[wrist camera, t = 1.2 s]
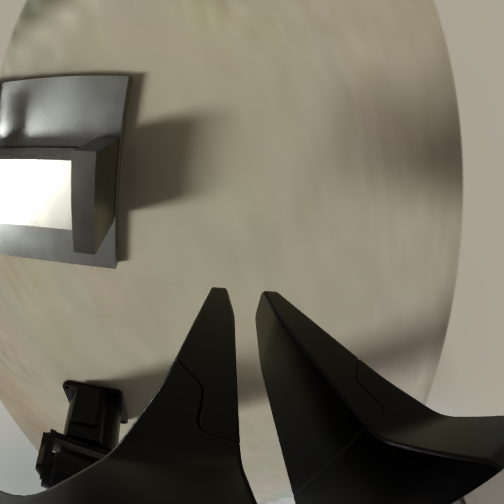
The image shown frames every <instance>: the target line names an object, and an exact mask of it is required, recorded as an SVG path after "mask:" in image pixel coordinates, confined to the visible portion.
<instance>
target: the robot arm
mask: <svg viewBox="0 0 504 504" xmlns="http://www.w3.org/2000/svg"><path fill="white" fill-rule="evenodd" d="M256 330H257V339H258V348H259V357H260V365H261V370H262V374H263V378H264V382H265V386H266V390H267V395H268V399H269V403H270V407H271V411H272V415H273V419H274V422H275V426H276V430H277V434H278V438H279V442H280V446H281V450H282V454H283V458H284V461H285V465H286V469H287V473H288V477H289V480H290V484H291V488H292V492H293V495H294V500H295V504H504V416H489V417H488V416H486V417H452V416H446V415H442V414H440V413H437V412H435V411H433V410H431V409H430V408H428V407H426V406H425V405H423V404H422V403H420V402H419V401H417V400H416V399H414V398H413V397H411V396H410V395H408V394H407V393H405V392H404V391H402V390H401V389H399V388H398V387H396V386H395V385H393V384H392V383H390V382H389V381H387V380H386V379H384V378H383V377H382V376H380V375H379V374H378V373H376V372H375V371H374V370H373V369H371V368H370V367H369V366H367V365H366V364H365V363H364V362H362V361H361V360H358V358H357V357H356V356H355V355H354V354H352V353H351V352H350V351H349V350H347V349H346V348H345V347H344V346H342V345H341V344H340V343H339V342H338V341H336V340H335V339H334V338H333V337H331V336H330V335H329V334H328V333H326V332H325V331H324V330H323V329H322V328H320V327H319V326H318V325H317V324H315V323H314V322H313V321H312V320H311V319H309V318H308V317H307V316H306V315H304V314H303V313H302V312H301V311H300V310H298V309H297V308H296V307H295V306H293V305H292V304H291V303H290V302H289V301H287V300H286V299H285V298H284V297H283V296H281V295H280V294H279V293H277V292H272V291H264V292H263V293H262V294H261V297H260V301H259V305H258V308H257V312H256ZM63 389H64V391H65V393H66V396H67V398H68V400H69V403H70V405H69V410H68V414H67V419H66V423H65V428H64V433H63V434H61V433H58V432H56V430H53V429H51V432H50V433H49V432H48V433H45V432H43V437H42V441H41V446H40V450H39V454H38V458H37V463H36V471H37V472H38V474H39V475H40V479H41V480H42V482H41V486H42V487H44V488H47V490H45V491H43V492H40V493H37V494H33V495H26V496H22V495H12V494H8V493H5V492H3V491H0V504H257V502H256V500H255V497H254V495H253V492H252V490H251V487H250V485H249V482H248V480H247V477H246V475H245V472H244V469H243V466H242V461H241V453H240V445H239V443H240V437H239V417H238V396H237V373H236V347H235V319H234V312H233V309H232V305H231V302H230V298H229V295H228V291H227V289H225V288H217V287H213V288H212V289H211V290H210V292H209V294H208V296H207V298H206V300H205V302H204V304H203V306H202V308H201V310H200V312H199V313H198V315H197V317H196V319H195V321H194V323H193V325H192V327H191V329H190V331H189V333H188V335H187V337H186V339H185V341H184V343H183V345H182V347H181V349H180V351H179V352H178V354H177V356H176V358H175V361H174V362H173V364H172V366H171V368H170V370H169V372H168V374H167V375H166V377H165V379H164V381H163V382H162V384H161V386H160V387H159V389H158V390H157V392H156V393H155V395H154V396H153V398H152V399H151V401H150V402H149V404H148V405H147V406H146V408H145V409H144V410H143V412H142V413H141V414H140V416H139V417H138V418H137V420H136V421H135V422H134V424H133V425H132V426H131V428H130V429H129V430H128V432H127V433H126V434H125V436H124V437H123V438H122V440H121V441H120V442H119V431H120V423H122V424H127V423H128V418H127V413H126V409H125V404H124V399H123V394H122V392H121V391H119V390H113V389H106V388H99V387H93V386H87V385H81V384H76V383H71V382H64V383H63ZM52 450H53V451H56V452H55V453H53V452H52Z"/></svg>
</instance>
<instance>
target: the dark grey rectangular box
mask: <svg viewBox="0 0 504 504" xmlns="http://www.w3.org/2000/svg"><path fill="white" fill-rule="evenodd" d="M118 141H119V138H109V137H98V138H96V139H94V140H92V141H90V142H88V143H86V144H84V145H82V146H80V147H78V148H0V223H6V224H17V225H27V226H37V227H47V228H58V229H68V230H72V235H73V249H74V252H76V253H85V254H93V255H96V253H97V251H98V249H99V247H100V245H101V244H102V242H103V240H104V238H105V236H106V235H107V233H108V231H109V229H110V228H111V226H112V224H113V222H114V199H115V178H116V163H117V151H118Z"/></svg>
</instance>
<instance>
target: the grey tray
mask: <svg viewBox="0 0 504 504" xmlns="http://www.w3.org/2000/svg"><path fill="white" fill-rule="evenodd" d="M131 79H132V77H130V76H64V77H49V78H37V79H27V80H19V81H11V82H4V83H0V148H78V147H80V146H82V145H84V144H86V143H88V142H90V141H92V140H94V139H96V138H98V137H109V138H119V141H118V151H117V163H116V178H115V199H114V222H113V224H112V226H111V228H110V229H109V231H108V233H107V235H106V236H105V238H104V240H103V242H102V244H101V245H100V247H99V249H98V251H97V253H96V255H93V254H85V253H76V252H74V249H73V235H72V230H68V229H58V228H47V227H37V226H27V225H17V224H6V223H0V254H4V255H11V256H18V257H25V258H33V259H40V260H48V261H55V262H63V263H71V264H80V265H88V266H97V267H105V268H114V269H116V266H117V263H118V200H119V181H120V166H121V154H122V144H123V135H124V126H125V118H126V111H127V104H128V97H129V91H130V85H131Z"/></svg>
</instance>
